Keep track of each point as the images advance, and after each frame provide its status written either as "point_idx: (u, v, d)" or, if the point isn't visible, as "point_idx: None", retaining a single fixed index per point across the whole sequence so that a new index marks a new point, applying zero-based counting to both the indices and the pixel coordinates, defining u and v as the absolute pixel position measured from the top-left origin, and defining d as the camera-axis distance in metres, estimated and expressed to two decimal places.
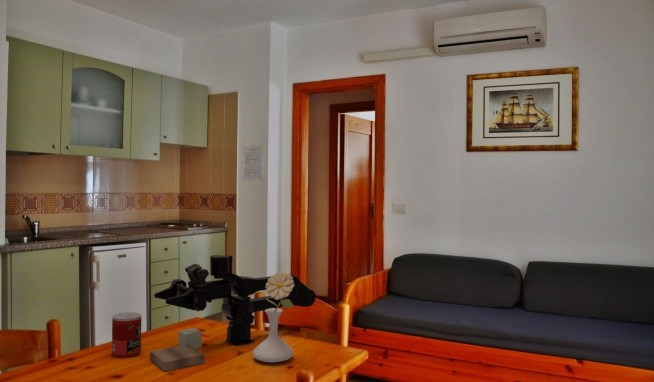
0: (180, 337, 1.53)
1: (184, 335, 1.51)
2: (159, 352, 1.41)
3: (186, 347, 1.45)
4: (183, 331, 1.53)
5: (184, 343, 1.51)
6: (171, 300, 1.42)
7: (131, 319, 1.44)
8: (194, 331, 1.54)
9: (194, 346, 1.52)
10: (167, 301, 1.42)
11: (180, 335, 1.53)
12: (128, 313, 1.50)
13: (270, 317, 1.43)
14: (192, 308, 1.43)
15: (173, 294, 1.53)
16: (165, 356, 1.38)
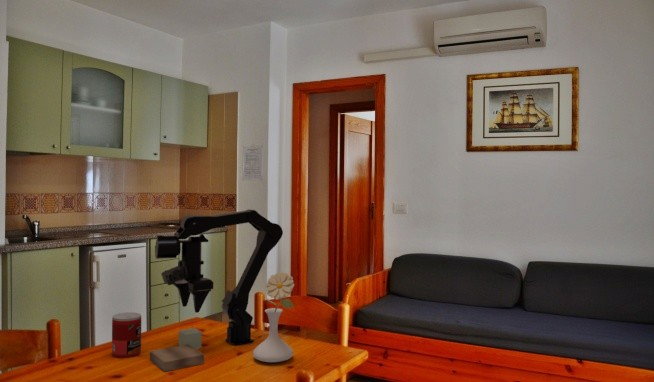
0: (180, 337, 1.53)
1: (184, 335, 1.51)
2: (159, 352, 1.41)
3: (186, 347, 1.45)
4: (183, 331, 1.53)
5: (184, 343, 1.51)
6: (197, 307, 1.50)
7: (131, 319, 1.44)
8: (194, 331, 1.54)
9: (194, 346, 1.52)
10: (197, 310, 1.50)
11: (180, 335, 1.53)
12: (128, 313, 1.50)
13: (270, 317, 1.43)
14: None
15: (186, 287, 1.58)
16: (165, 356, 1.38)
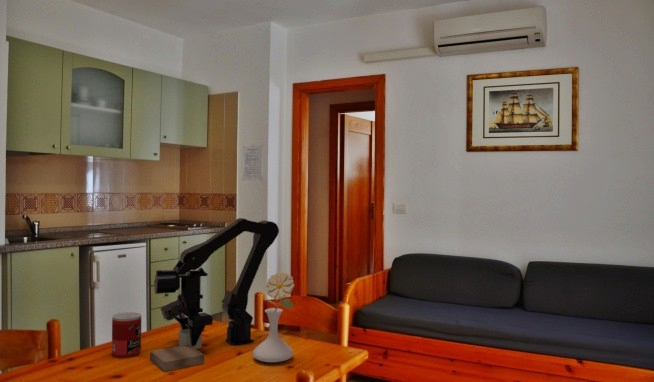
0: (180, 337, 1.53)
1: (184, 335, 1.51)
2: (159, 352, 1.41)
3: (186, 347, 1.45)
4: (183, 331, 1.53)
5: (184, 343, 1.51)
6: (193, 341, 1.51)
7: (131, 319, 1.44)
8: None
9: (194, 346, 1.52)
10: (193, 344, 1.52)
11: (180, 335, 1.53)
12: (128, 313, 1.50)
13: (270, 317, 1.43)
14: None
15: (188, 321, 1.57)
16: (165, 356, 1.38)
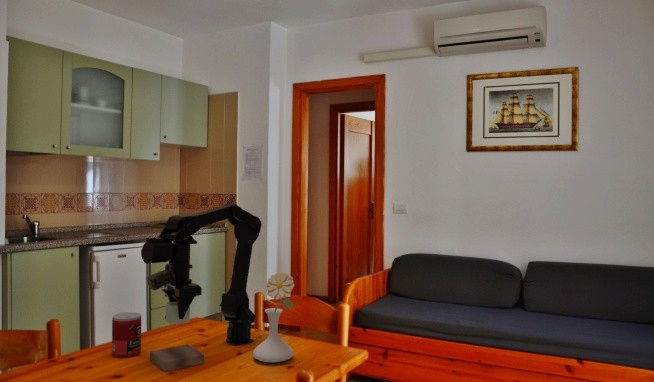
0: (167, 309, 1.42)
1: (171, 307, 1.40)
2: (159, 352, 1.41)
3: (186, 347, 1.45)
4: (170, 303, 1.42)
5: (171, 315, 1.40)
6: (181, 314, 1.40)
7: (131, 319, 1.44)
8: None
9: (182, 319, 1.41)
10: (181, 317, 1.40)
11: (167, 307, 1.42)
12: (128, 313, 1.50)
13: (270, 317, 1.43)
14: (194, 296, 1.40)
15: None
16: (165, 356, 1.38)
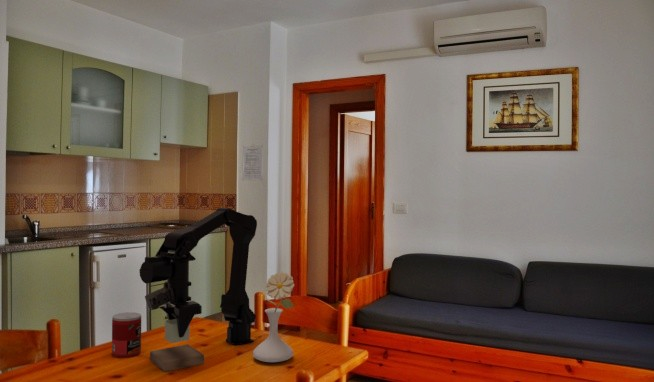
0: (166, 328, 1.40)
1: (170, 325, 1.38)
2: (159, 352, 1.41)
3: (186, 347, 1.45)
4: (169, 321, 1.41)
5: (170, 334, 1.38)
6: (181, 332, 1.38)
7: (131, 319, 1.44)
8: None
9: (181, 337, 1.39)
10: (181, 335, 1.39)
11: (166, 325, 1.40)
12: (128, 313, 1.50)
13: (270, 317, 1.43)
14: None
15: None
16: (165, 356, 1.38)
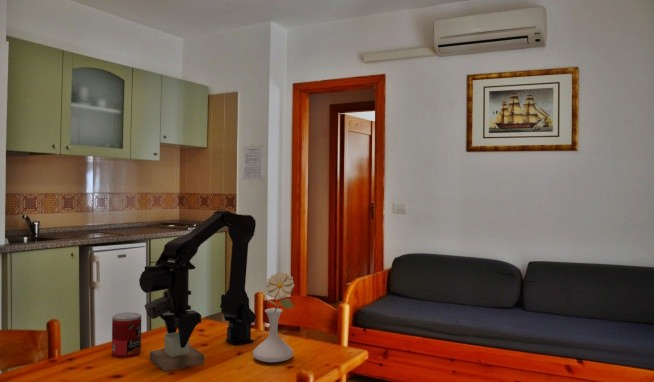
0: (166, 341, 1.40)
1: (170, 339, 1.38)
2: (159, 352, 1.41)
3: None
4: (169, 334, 1.41)
5: (170, 348, 1.38)
6: (183, 342, 1.37)
7: (131, 319, 1.44)
8: None
9: (181, 351, 1.39)
10: (183, 345, 1.38)
11: (166, 339, 1.40)
12: (128, 313, 1.50)
13: (270, 317, 1.43)
14: (196, 324, 1.37)
15: (173, 318, 1.45)
16: (165, 356, 1.38)
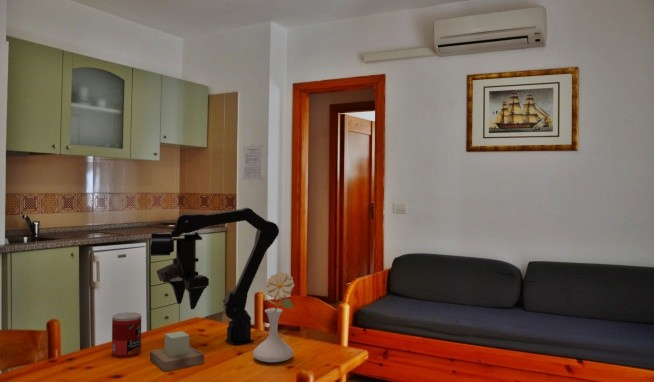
0: (166, 341, 1.40)
1: (170, 339, 1.38)
2: (159, 352, 1.41)
3: None
4: (169, 334, 1.41)
5: (170, 348, 1.38)
6: (192, 304, 1.52)
7: (131, 319, 1.44)
8: (181, 334, 1.41)
9: (181, 351, 1.39)
10: (192, 307, 1.52)
11: (166, 339, 1.40)
12: (128, 313, 1.50)
13: (270, 317, 1.43)
14: (204, 287, 1.51)
15: (180, 284, 1.60)
16: (165, 356, 1.38)
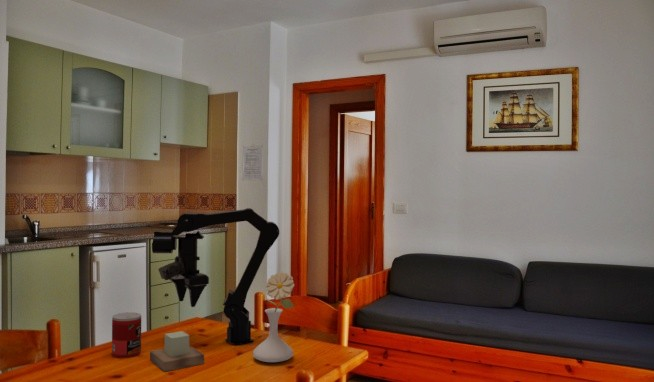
0: (166, 341, 1.40)
1: (170, 339, 1.38)
2: (159, 352, 1.41)
3: None
4: (169, 334, 1.41)
5: (170, 348, 1.38)
6: (193, 302, 1.54)
7: (131, 319, 1.44)
8: (181, 334, 1.41)
9: (181, 351, 1.39)
10: (193, 305, 1.55)
11: (166, 339, 1.40)
12: (128, 313, 1.50)
13: (270, 317, 1.43)
14: (204, 286, 1.54)
15: (182, 282, 1.63)
16: (165, 356, 1.38)
